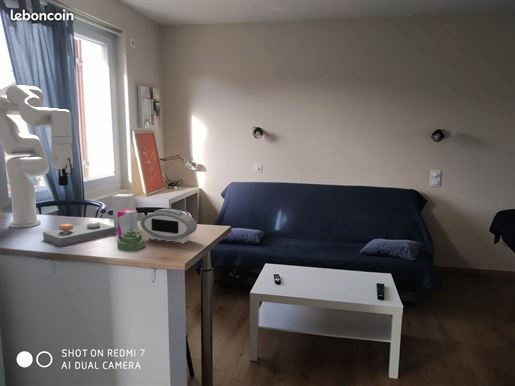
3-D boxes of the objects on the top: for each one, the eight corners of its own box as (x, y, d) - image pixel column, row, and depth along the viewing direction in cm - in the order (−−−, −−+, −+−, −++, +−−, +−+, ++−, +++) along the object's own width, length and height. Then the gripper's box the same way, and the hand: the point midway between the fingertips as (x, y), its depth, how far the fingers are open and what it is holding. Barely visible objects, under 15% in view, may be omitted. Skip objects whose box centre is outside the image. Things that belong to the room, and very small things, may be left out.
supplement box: (138, 236, 174) (137, 209, 172) (129, 240, 168) (128, 212, 166) (126, 235, 176) (125, 208, 174) (117, 238, 170) (116, 211, 168)
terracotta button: (57, 236, 167) (56, 225, 166) (69, 233, 171) (68, 222, 170) (63, 238, 164) (62, 227, 163) (76, 235, 168) (75, 224, 167)
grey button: (85, 233, 176) (84, 222, 176) (96, 230, 180) (95, 220, 180) (91, 235, 173) (91, 224, 173) (103, 232, 177) (102, 222, 177)
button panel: (43, 239, 167) (43, 232, 167) (98, 228, 186) (97, 222, 185) (60, 246, 159) (60, 238, 158) (115, 233, 177) (115, 227, 177)
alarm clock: (140, 238, 171) (139, 208, 169) (149, 235, 177) (149, 205, 175) (189, 245, 163) (189, 213, 161) (197, 241, 168) (197, 210, 166)
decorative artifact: (128, 242, 166) (111, 248, 157) (127, 225, 165) (111, 230, 156) (149, 244, 163) (133, 251, 154) (149, 227, 162) (133, 233, 152)
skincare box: (137, 227, 189) (136, 194, 187) (130, 231, 183) (129, 196, 180) (120, 226, 191) (118, 193, 188) (112, 229, 184) (111, 195, 182)
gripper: (43, 139, 169) (45, 183, 172) (61, 142, 159) (62, 189, 163) (62, 139, 174) (63, 181, 178) (80, 142, 165) (81, 187, 168)
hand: (63, 185), depth 170 cm, fingers closed
